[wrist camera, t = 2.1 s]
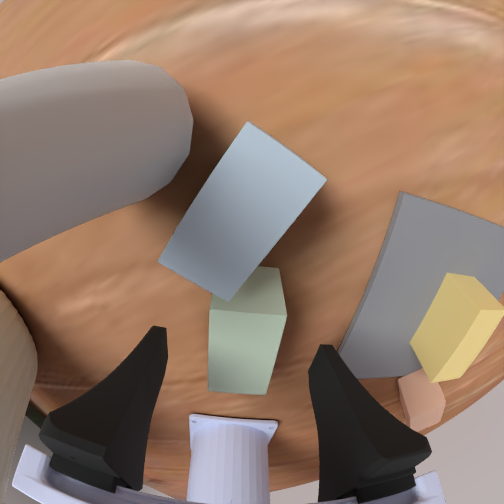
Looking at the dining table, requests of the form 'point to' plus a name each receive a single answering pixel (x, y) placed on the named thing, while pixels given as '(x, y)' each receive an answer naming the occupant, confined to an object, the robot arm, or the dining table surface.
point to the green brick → (246, 334)
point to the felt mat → (417, 281)
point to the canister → (13, 382)
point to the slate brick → (241, 212)
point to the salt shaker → (85, 145)
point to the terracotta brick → (421, 400)
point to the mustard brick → (455, 327)
